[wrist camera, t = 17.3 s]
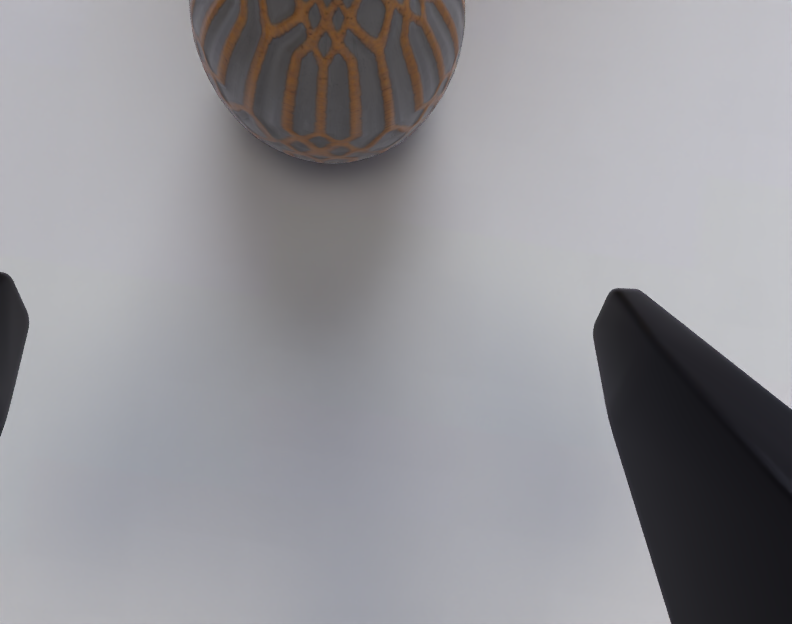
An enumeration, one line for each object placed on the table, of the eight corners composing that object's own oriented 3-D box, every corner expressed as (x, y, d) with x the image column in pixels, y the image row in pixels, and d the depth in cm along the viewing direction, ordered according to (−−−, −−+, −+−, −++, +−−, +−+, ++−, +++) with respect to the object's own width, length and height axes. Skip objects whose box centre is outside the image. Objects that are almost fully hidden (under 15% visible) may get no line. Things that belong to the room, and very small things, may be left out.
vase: (281, 220, 19) (249, 149, 11) (177, 21, 19) (56, -221, 10) (471, 127, 20) (585, -10, 12) (375, -67, 20) (417, -362, 11)
